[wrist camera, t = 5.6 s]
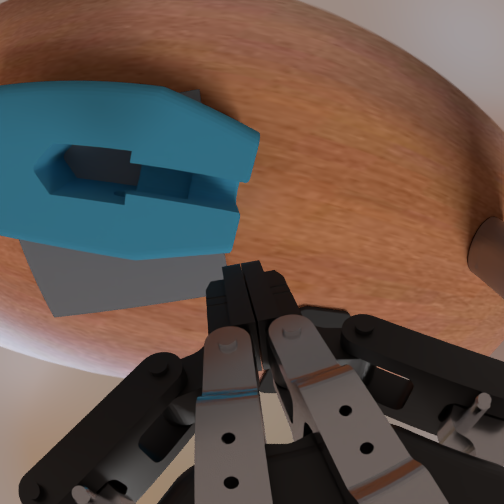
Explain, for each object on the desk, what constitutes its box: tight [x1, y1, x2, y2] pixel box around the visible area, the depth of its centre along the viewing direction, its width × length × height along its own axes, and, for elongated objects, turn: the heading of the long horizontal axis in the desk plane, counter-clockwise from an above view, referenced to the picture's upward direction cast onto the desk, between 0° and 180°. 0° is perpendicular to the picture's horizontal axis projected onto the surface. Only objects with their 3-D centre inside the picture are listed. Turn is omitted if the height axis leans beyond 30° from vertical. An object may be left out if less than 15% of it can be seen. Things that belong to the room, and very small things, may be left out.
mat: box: [19, 89, 227, 317], centre depth 22 cm, size 20×18×1 cm
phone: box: [259, 306, 351, 393], centre depth 34 cm, size 7×1×15 cm
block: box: [0, 81, 260, 260], centre depth 18 cm, size 12×5×20 cm
